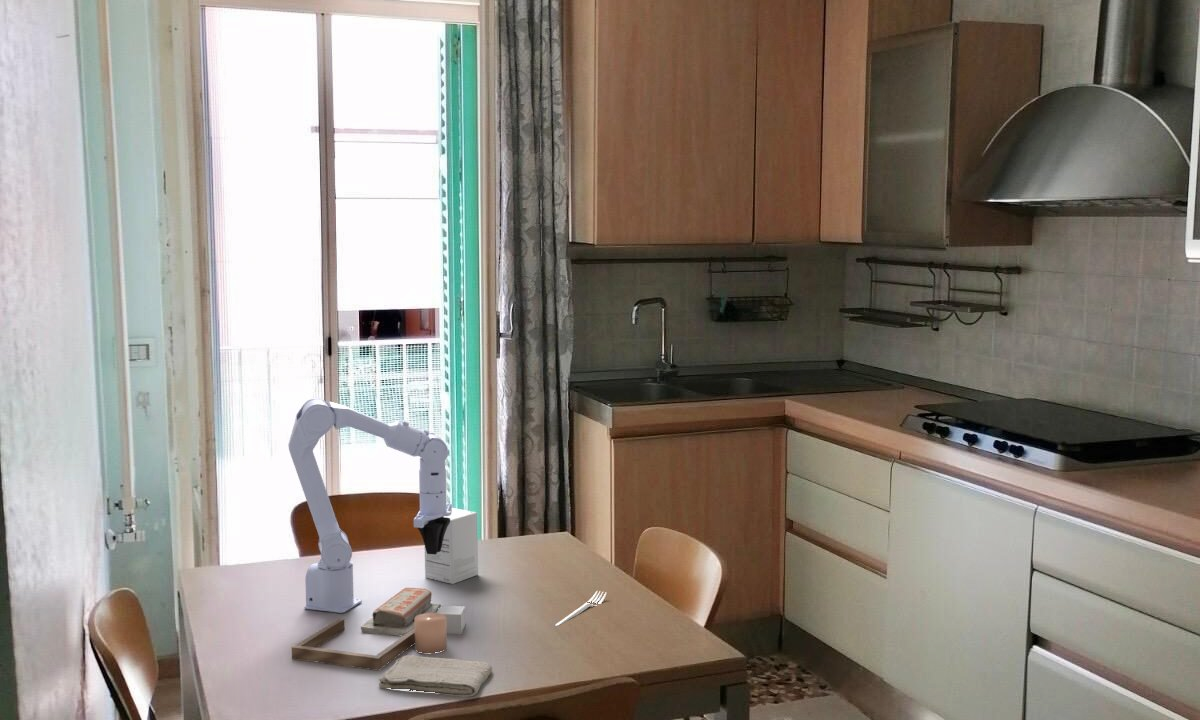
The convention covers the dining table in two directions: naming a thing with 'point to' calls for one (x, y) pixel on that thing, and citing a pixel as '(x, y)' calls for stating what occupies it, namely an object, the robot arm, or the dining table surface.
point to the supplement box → (456, 550)
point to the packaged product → (400, 612)
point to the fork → (584, 607)
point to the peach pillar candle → (430, 632)
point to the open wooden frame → (311, 653)
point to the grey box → (454, 618)
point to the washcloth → (436, 675)
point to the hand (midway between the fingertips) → (433, 552)
